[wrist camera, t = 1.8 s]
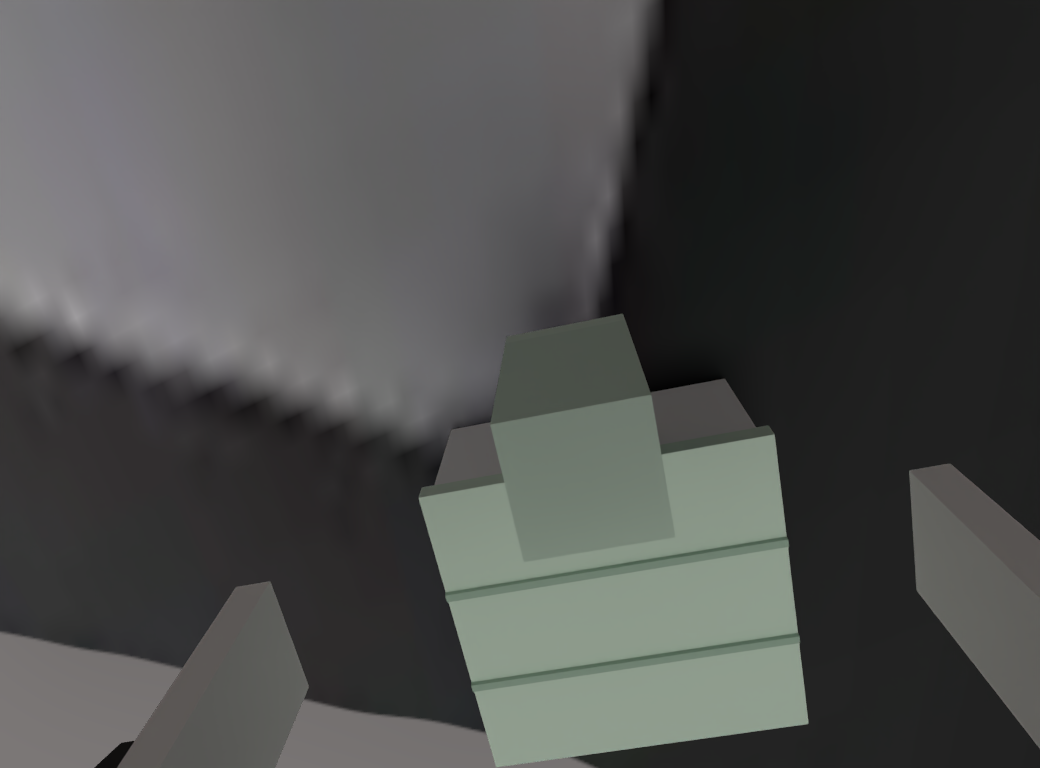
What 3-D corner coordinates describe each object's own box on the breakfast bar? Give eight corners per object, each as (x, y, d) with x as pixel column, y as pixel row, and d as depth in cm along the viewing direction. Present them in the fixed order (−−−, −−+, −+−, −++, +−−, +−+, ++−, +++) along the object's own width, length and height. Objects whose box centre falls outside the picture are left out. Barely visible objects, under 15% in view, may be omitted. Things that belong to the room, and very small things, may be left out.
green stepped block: (385, 360, 27) (324, 455, 20) (751, 287, 26) (832, 360, 18) (497, 752, 33) (482, 939, 25) (802, 708, 31) (879, 893, 24)
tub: (451, 429, 34) (432, 493, 29) (724, 378, 33) (760, 434, 27) (509, 650, 38) (502, 745, 33) (756, 612, 37) (793, 704, 31)
